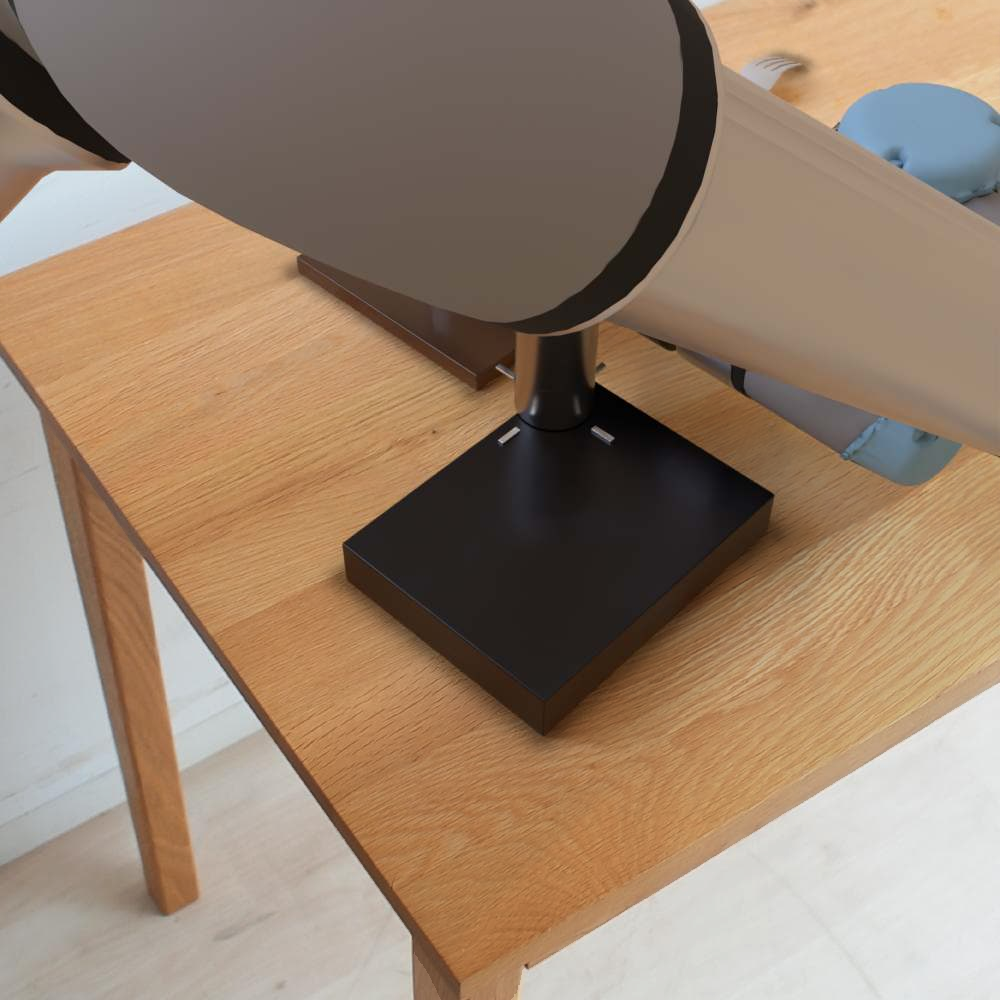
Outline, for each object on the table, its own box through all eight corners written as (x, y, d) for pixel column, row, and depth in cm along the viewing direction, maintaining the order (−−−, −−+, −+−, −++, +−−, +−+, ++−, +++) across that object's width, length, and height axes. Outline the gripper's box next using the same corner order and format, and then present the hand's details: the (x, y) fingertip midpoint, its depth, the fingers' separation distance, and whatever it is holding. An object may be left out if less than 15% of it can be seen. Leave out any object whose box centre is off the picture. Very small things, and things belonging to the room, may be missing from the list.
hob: (542, 737, 69) (544, 700, 67) (304, 546, 77) (297, 507, 75) (782, 518, 79) (791, 478, 76) (547, 368, 87) (548, 328, 84)
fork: (637, 219, 100) (638, 188, 98) (774, 55, 110) (778, 24, 108) (673, 233, 99) (675, 202, 97) (808, 66, 109) (812, 35, 107)
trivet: (476, 390, 85) (476, 376, 84) (297, 271, 93) (295, 256, 92) (649, 266, 93) (651, 251, 92) (472, 165, 100) (471, 150, 99)
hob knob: (556, 443, 78) (562, 311, 71) (497, 403, 80) (497, 271, 73) (609, 401, 80) (620, 270, 73) (551, 364, 82) (556, 233, 75)
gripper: (586, 437, 76) (299, 249, 87) (805, 265, 86) (523, 114, 97) (593, 330, 71) (286, 143, 81) (827, 159, 80) (524, 11, 91)
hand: (415, 128), depth 89 cm, fingers closed on pot, 7 cm apart
